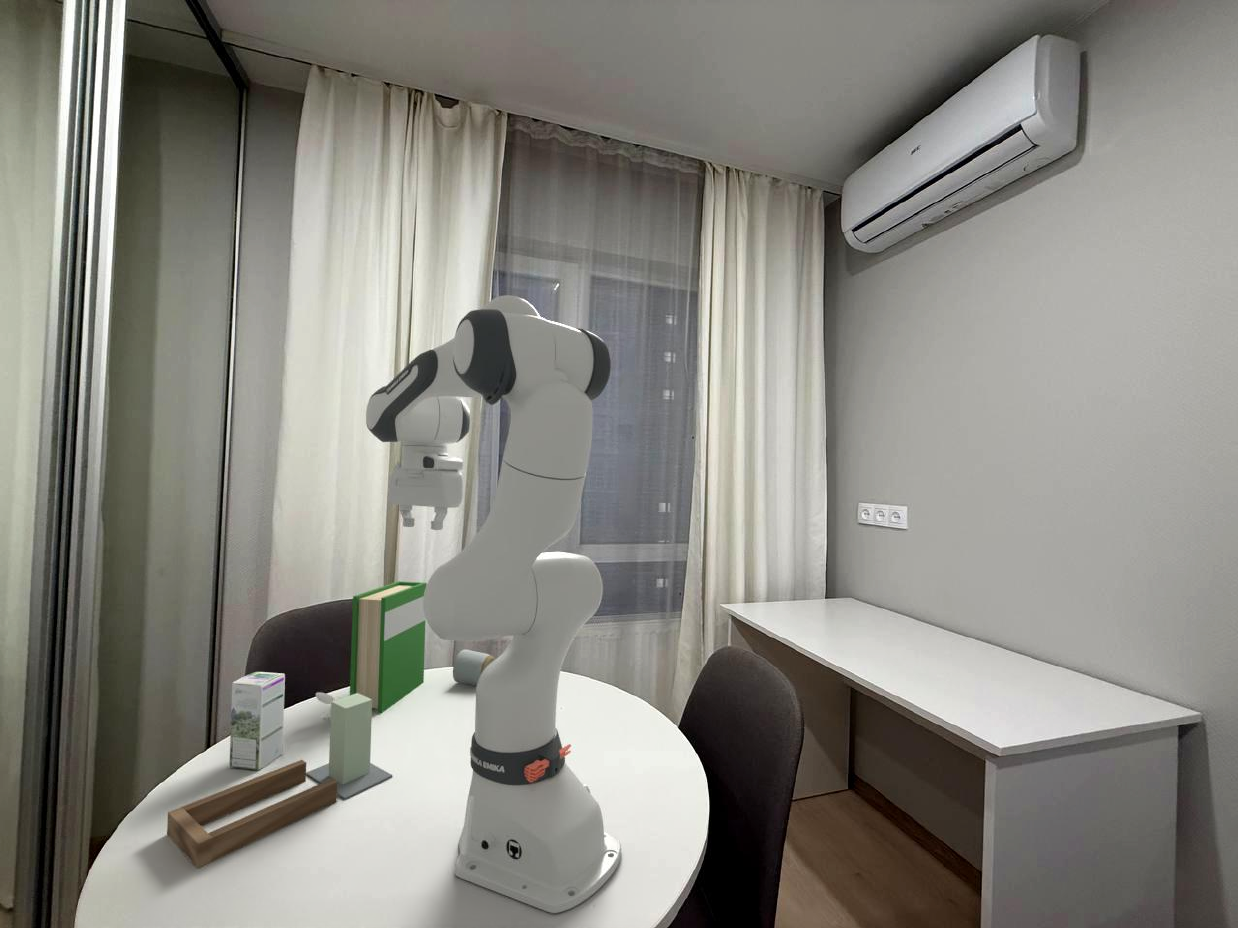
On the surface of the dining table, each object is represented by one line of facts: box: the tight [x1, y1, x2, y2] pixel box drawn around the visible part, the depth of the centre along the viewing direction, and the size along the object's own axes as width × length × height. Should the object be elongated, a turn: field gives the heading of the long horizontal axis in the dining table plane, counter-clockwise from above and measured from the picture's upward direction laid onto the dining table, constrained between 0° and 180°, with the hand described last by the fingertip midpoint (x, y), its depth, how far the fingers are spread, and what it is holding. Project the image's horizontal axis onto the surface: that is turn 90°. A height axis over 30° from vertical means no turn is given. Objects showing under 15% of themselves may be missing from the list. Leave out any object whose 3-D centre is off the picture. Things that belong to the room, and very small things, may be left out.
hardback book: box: [349, 580, 428, 714], centre depth 123 cm, size 18×7×24 cm, turn 172°
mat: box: [306, 762, 393, 800], centre depth 90 cm, size 12×8×1 cm, turn 55°
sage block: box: [328, 693, 373, 785], centre depth 90 cm, size 4×4×12 cm
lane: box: [166, 759, 338, 869], centre depth 78 cm, size 11×18×3 cm, turn 145°
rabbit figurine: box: [315, 692, 342, 721], centre depth 110 cm, size 6×4×8 cm
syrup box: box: [229, 671, 286, 771], centre depth 94 cm, size 6×6×14 cm
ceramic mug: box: [452, 649, 496, 686], centre depth 133 cm, size 11×8×8 cm
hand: (422, 528), depth 111 cm, fingers open, 8 cm apart
